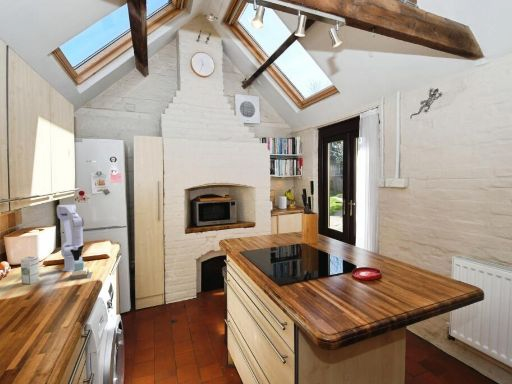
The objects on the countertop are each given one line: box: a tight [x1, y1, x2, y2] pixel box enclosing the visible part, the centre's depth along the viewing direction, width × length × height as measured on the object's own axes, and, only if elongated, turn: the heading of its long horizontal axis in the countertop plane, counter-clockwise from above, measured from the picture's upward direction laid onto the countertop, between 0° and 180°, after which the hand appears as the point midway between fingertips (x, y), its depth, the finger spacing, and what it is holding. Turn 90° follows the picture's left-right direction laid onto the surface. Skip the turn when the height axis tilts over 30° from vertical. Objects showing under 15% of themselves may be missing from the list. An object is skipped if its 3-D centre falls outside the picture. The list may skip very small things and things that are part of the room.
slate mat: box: [66, 271, 94, 283], centre depth 159 cm, size 12×12×1 cm
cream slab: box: [71, 266, 89, 276], centre depth 158 cm, size 7×7×2 cm
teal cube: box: [74, 260, 85, 271], centre depth 158 cm, size 4×4×4 cm
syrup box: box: [20, 256, 40, 285], centre depth 149 cm, size 6×6×14 cm
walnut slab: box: [70, 269, 90, 280], centre depth 158 cm, size 8×8×2 cm
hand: (77, 258), depth 161 cm, fingers open, 7 cm apart
